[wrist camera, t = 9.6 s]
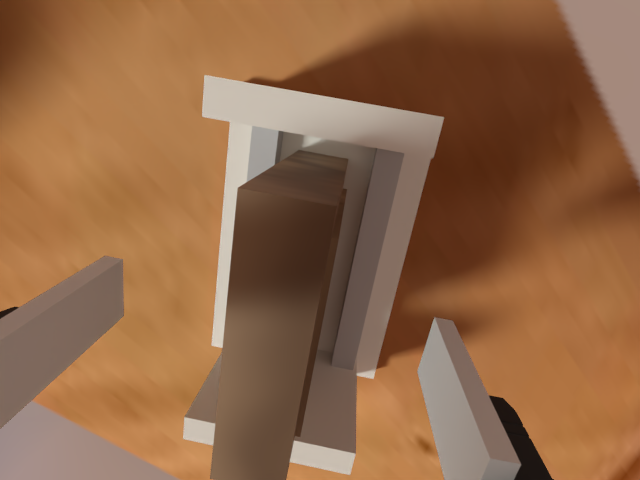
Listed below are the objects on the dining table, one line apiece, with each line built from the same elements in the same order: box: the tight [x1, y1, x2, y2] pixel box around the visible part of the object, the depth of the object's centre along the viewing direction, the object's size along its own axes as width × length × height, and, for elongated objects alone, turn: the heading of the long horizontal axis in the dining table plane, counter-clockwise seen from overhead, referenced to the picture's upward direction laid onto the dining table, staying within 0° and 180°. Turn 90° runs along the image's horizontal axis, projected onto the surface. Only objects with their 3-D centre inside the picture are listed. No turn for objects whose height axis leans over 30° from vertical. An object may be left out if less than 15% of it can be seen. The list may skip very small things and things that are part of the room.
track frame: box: [183, 75, 444, 475], centre depth 21 cm, size 12×18×9 cm, turn 171°
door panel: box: [210, 150, 348, 480], centre depth 19 cm, size 3×12×12 cm, turn 171°
